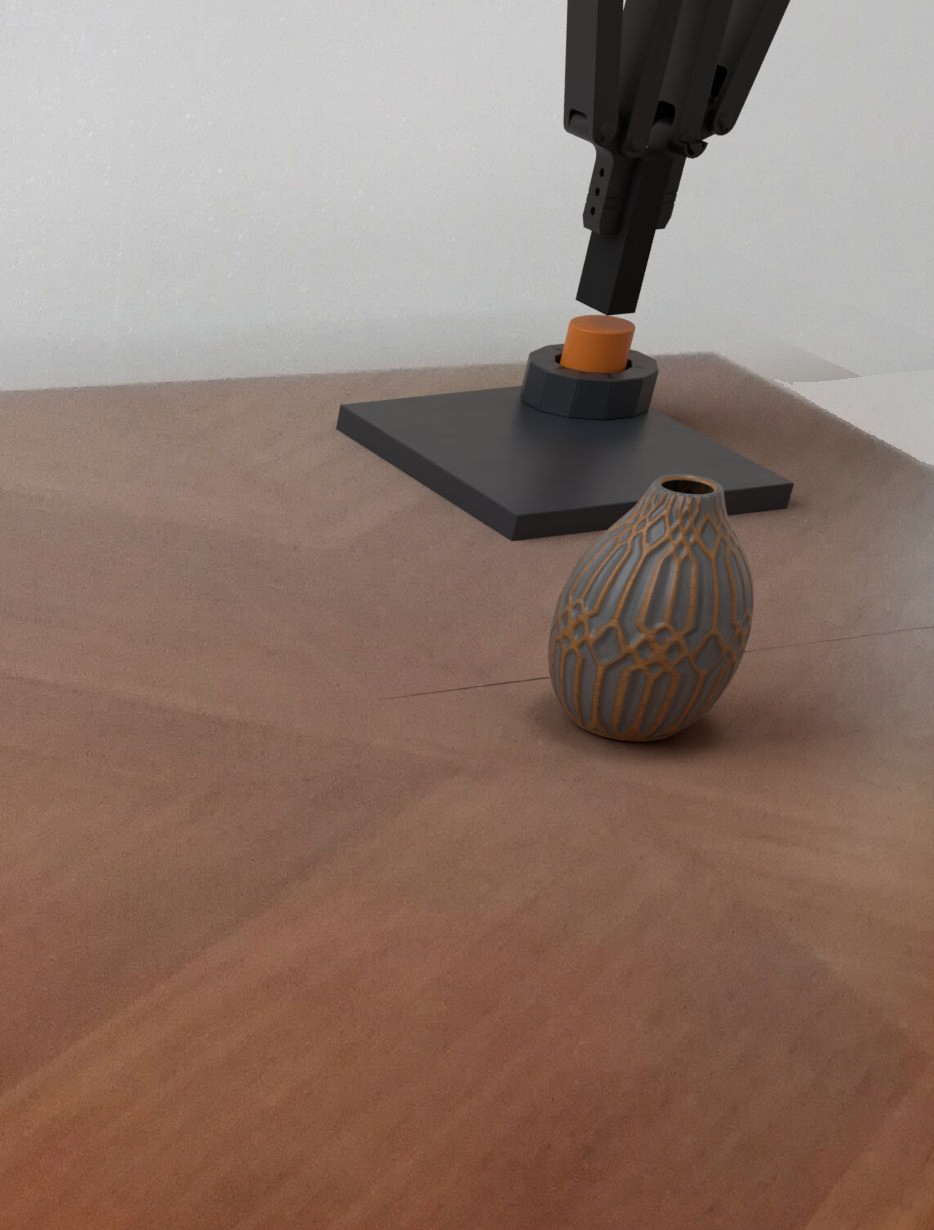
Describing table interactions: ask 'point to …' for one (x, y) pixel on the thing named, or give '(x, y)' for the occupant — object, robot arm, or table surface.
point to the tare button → (597, 344)
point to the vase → (653, 615)
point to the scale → (554, 448)
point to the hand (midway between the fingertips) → (605, 306)
